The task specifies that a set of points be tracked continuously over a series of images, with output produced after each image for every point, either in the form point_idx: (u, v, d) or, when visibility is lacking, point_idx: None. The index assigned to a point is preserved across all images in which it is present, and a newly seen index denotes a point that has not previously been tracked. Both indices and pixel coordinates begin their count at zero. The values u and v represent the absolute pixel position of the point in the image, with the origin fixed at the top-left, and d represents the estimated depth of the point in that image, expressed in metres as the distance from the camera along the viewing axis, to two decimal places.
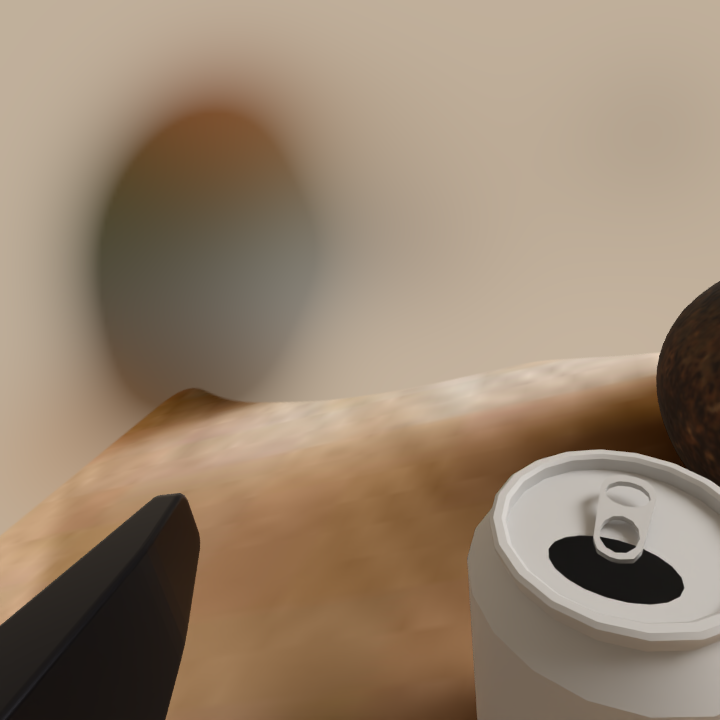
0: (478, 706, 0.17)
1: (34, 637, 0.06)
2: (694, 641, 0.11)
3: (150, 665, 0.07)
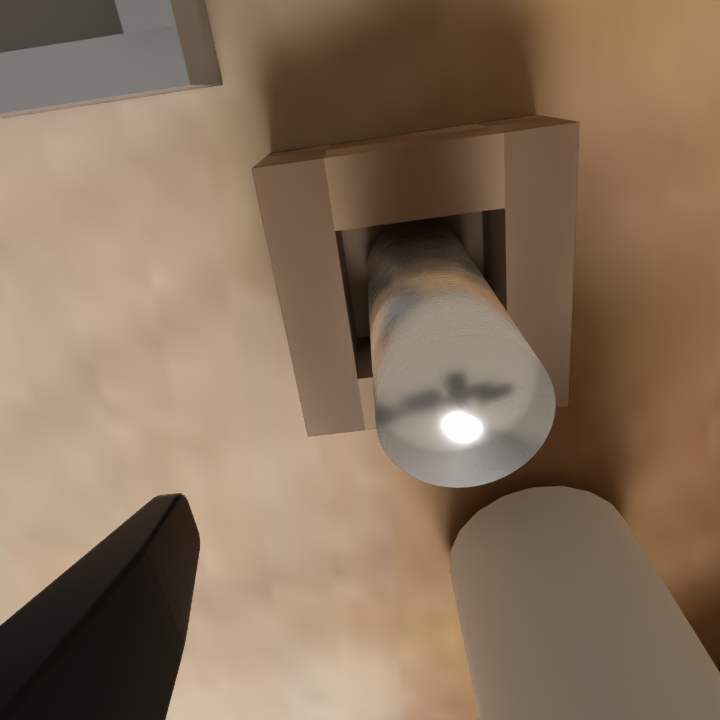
0: (578, 577, 0.18)
1: (34, 637, 0.06)
2: None
3: (150, 665, 0.07)
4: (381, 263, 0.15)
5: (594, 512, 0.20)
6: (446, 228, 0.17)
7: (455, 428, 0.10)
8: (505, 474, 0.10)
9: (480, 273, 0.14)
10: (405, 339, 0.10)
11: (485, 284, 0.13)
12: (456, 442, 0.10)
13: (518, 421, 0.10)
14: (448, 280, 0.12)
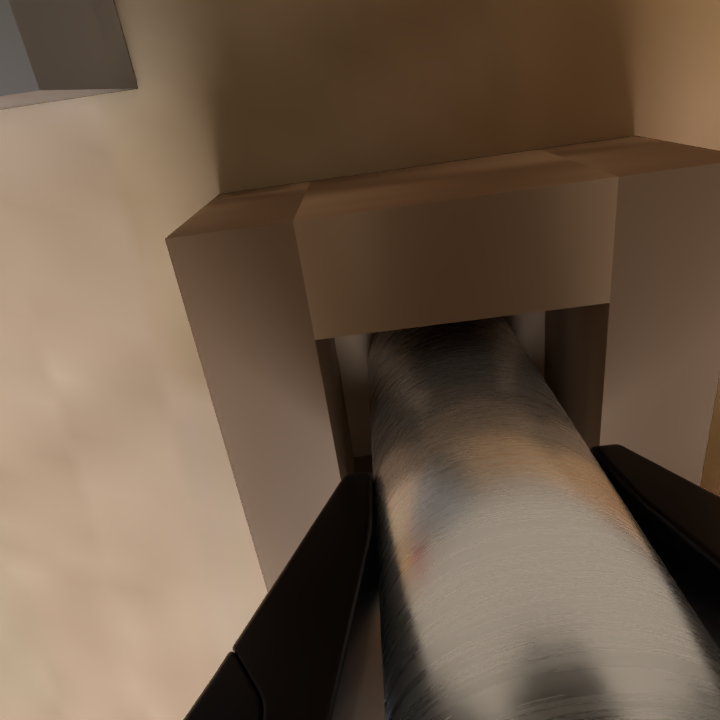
0: None
1: (312, 609, 0.05)
2: None
3: (378, 643, 0.07)
4: (394, 388, 0.09)
5: None
6: None
7: None
8: None
9: (571, 423, 0.08)
10: None
11: (597, 471, 0.07)
12: None
13: None
14: (538, 489, 0.06)
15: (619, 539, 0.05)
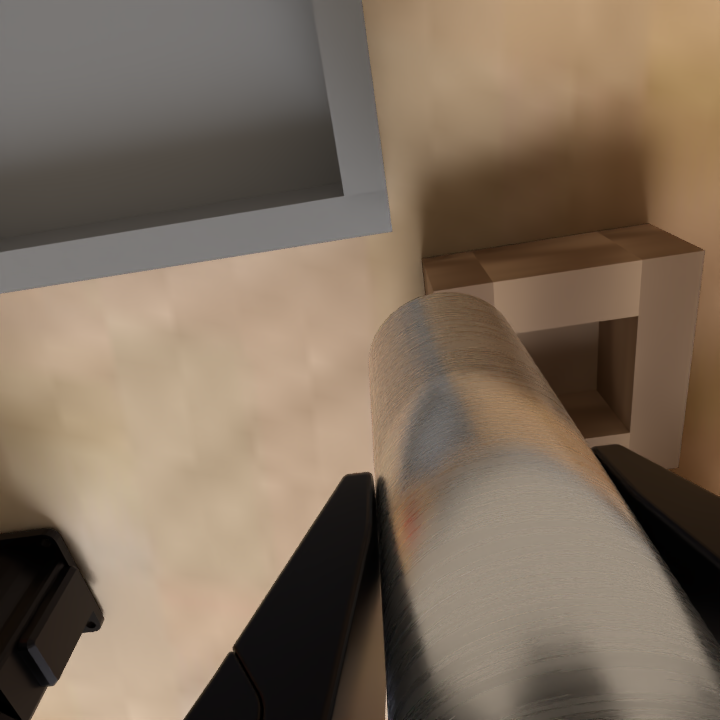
0: None
1: (312, 609, 0.05)
2: None
3: (379, 643, 0.07)
4: (396, 388, 0.09)
5: None
6: (493, 310, 0.11)
7: None
8: None
9: (573, 423, 0.08)
10: None
11: (600, 472, 0.07)
12: None
13: None
14: (541, 490, 0.06)
15: (622, 539, 0.05)
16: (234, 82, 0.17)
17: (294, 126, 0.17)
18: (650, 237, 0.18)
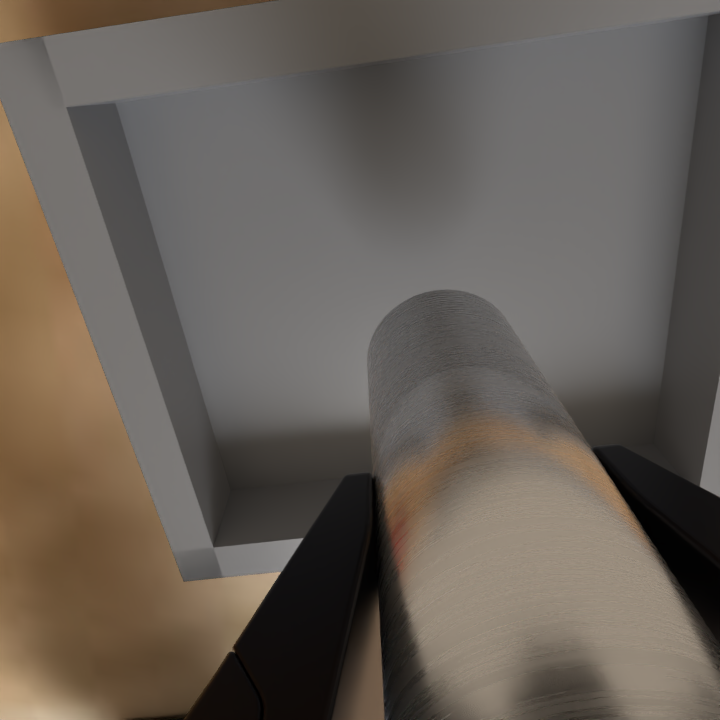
0: None
1: (312, 609, 0.05)
2: None
3: (378, 643, 0.07)
4: (393, 386, 0.09)
5: None
6: (492, 308, 0.11)
7: None
8: None
9: (571, 421, 0.08)
10: None
11: (598, 469, 0.07)
12: None
13: None
14: (538, 486, 0.06)
15: (620, 536, 0.05)
16: (568, 360, 0.16)
17: (617, 397, 0.17)
18: None
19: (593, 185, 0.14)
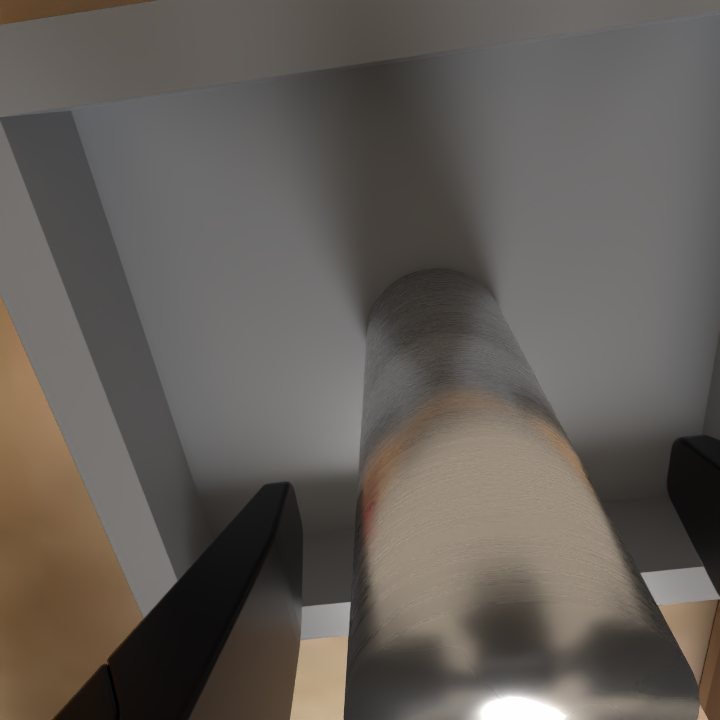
0: None
1: (193, 621, 0.05)
2: None
3: (281, 652, 0.07)
4: (382, 346, 0.10)
5: None
6: (478, 285, 0.12)
7: None
8: None
9: (532, 374, 0.09)
10: (405, 569, 0.05)
11: (544, 407, 0.08)
12: None
13: None
14: (485, 412, 0.07)
15: (545, 449, 0.07)
16: (597, 402, 0.14)
17: (652, 443, 0.15)
18: None
19: (631, 206, 0.12)
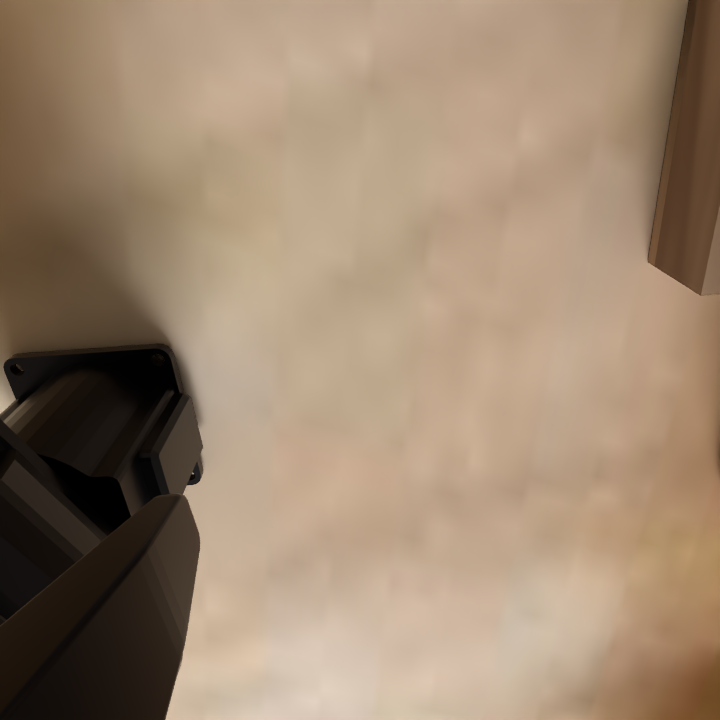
0: None
1: (34, 637, 0.06)
2: None
3: (150, 665, 0.07)
4: None
5: None
6: None
7: None
8: None
9: None
10: None
11: None
12: None
13: None
14: None
15: None
16: None
17: None
18: None
19: None
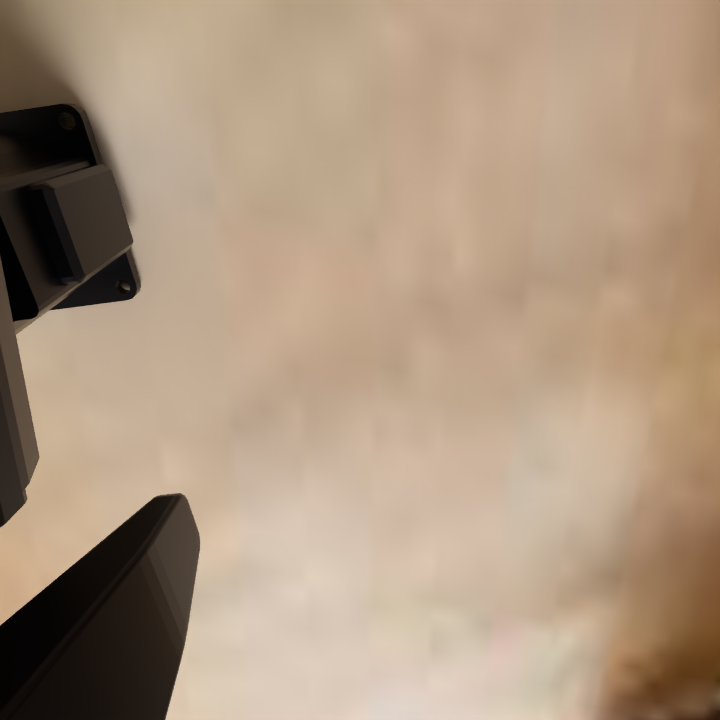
0: None
1: (34, 637, 0.06)
2: None
3: (150, 665, 0.07)
4: None
5: None
6: None
7: None
8: None
9: None
10: None
11: None
12: None
13: None
14: None
15: None
16: None
17: None
18: None
19: None
